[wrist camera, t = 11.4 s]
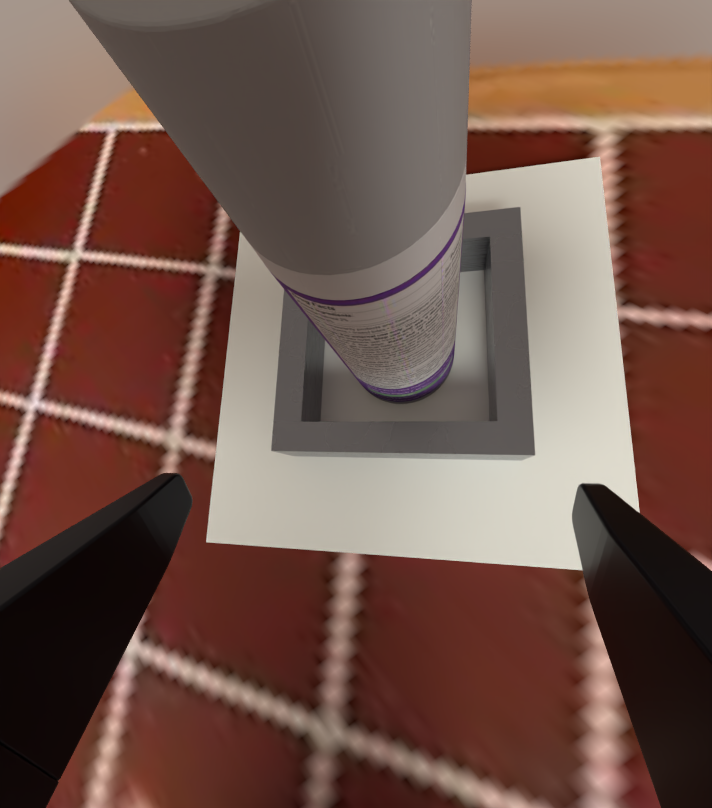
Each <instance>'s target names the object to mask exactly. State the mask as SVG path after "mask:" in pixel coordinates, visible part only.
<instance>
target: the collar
mask: <svg viewBox="0 0 712 808" xmlns="http://www.w3.org/2000/svg"><path fill="white" fill-rule="evenodd" d="M479 270H484V282H485V310H486V338H487V365H488V393H489V420H490V421H381V422H320V421H321V403H322V385H323V367H324V349H325V339H324V338H323V337H322V336H321V334H320V333H319V332H318V331H317V329H316V328H315V327H314V326H313V324H312V323H311V322H310V321H309V319H308V318H307V317H306V316H305V314H304V313H303V312H302V311H301V309H300V308H299V307H298V306H297V305H296V303H295V302H294V301H293V300H292V298H291V297H290V296H289V295H288V293H287V292H286V291H285V290H284V296H283V308H282V321H281V333H280V345H279V358H278V370H277V383H276V395H275V408H274V420H273V432H272V445H271V451H273V452H277V453H282V454H286V455H291V456H309V457H361V458H414V459H466V460H519V461H522V460H525V459H527V458H530V457H532V456H535V442H534V426H533V409H532V392H531V376H530V359H529V342H528V325H527V309H526V292H525V275H524V258H523V242H522V225H521V208H520V207H514V208H505V209H497V210H488V211H479V212H470V213H464V226H463V240H462V254H461V268H460V272H467V271H479Z"/></svg>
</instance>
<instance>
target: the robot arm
mask: <svg viewBox="0 0 712 808" xmlns="http://www.w3.org/2000/svg"><path fill="white" fill-rule="evenodd" d="M191 507H192V496H191V494H190V492H189V490H188V488H187V485H186V483H185V481H184V479H183V477H182V476H181V475H180V474H177V473H163V474H161V475H159V476H157V477H155V478H154V479H152V480H150V481H149V482H147V483H145V484H143V485H142V486H140V487H138V488H137V489H135V490H133V491H131V492H130V493H128V494H126V495H125V496H123V497H121V498H119V499H118V500H116V501H114V502H113V503H111V504H109V505H108V506H106V507H104V508H102V509H101V510H99V511H97V512H96V513H94V514H92V515H90V516H89V517H87V518H85V519H84V520H82V521H80V522H78V523H77V524H75V525H73V526H72V527H70V528H68V529H66V530H65V531H63V532H61V533H60V534H58V535H56V536H55V537H53V538H51V539H49V540H48V541H46V542H44V543H43V544H41V545H39V546H37V547H36V548H34V549H32V550H31V551H29V552H27V553H25V554H24V555H22V556H20V557H19V558H17V559H15V560H13V561H12V562H10V563H8V564H7V565H5V566H3V567H2V568H0V808H46V807H47V805H48V803H49V801H50V799H51V797H52V795H53V793H54V791H55V789H56V787H57V785H58V780H59V779H60V778H61V776H62V774H63V772H64V770H65V768H66V766H67V764H68V762H69V760H70V758H71V756H72V755H73V753H74V751H75V749H76V747H77V745H78V743H79V741H80V739H81V737H82V735H83V733H84V731H85V729H86V727H87V725H88V723H89V721H90V719H91V717H92V715H93V713H94V711H95V709H96V707H97V705H98V703H99V701H100V699H101V697H102V695H103V693H104V691H105V689H106V687H107V685H108V683H109V681H110V679H111V678H112V676H113V674H114V672H115V670H116V668H117V666H118V664H119V662H120V660H121V658H122V656H123V654H124V652H125V650H126V648H127V646H128V644H129V642H130V640H131V638H132V636H133V634H134V632H135V630H136V628H137V626H138V624H139V622H140V620H141V618H142V616H143V614H144V612H145V610H146V608H147V606H148V604H149V602H150V600H151V599H152V597H153V595H154V593H155V591H156V589H157V587H158V585H159V583H160V581H161V579H162V577H163V575H164V573H165V571H166V569H167V567H168V564H169V562H170V560H171V558H172V555H173V553H174V550H175V548H176V545H177V543H178V540H179V537H180V535H181V532H182V530H183V527H184V525H185V522H186V520H187V517H188V515H189V512H190V510H191ZM572 523H573V528H574V533H575V537H576V542H577V546H578V551H579V556H580V560H581V565H582V569H583V574H584V578H585V583H586V587H587V591H588V595H589V599H590V602H591V605H592V609H593V612H594V615H595V617H596V620H597V623H598V626H599V629H600V632H601V635H602V638H603V641H604V644H605V646H606V649H607V652H608V655H609V658H610V661H611V664H612V667H613V670H614V672H615V675H616V678H617V681H618V684H619V687H620V690H621V693H622V696H623V698H624V701H625V704H626V707H627V710H628V713H629V716H630V719H631V722H632V725H633V727H634V730H635V733H636V736H637V739H638V742H639V745H640V748H641V751H642V753H643V756H644V759H645V762H646V765H647V768H648V771H649V774H650V777H651V780H652V782H653V785H654V788H655V791H656V794H657V797H658V800H659V803H660V806H661V808H712V571H711V570H710V569H709V568H707V567H706V566H705V565H704V564H702V563H701V562H700V561H699V560H697V559H696V558H695V557H694V556H692V555H691V554H690V553H689V552H687V551H686V550H685V549H684V548H682V547H681V546H680V545H679V544H677V543H676V542H675V541H674V540H673V539H671V538H670V537H669V536H668V535H666V534H665V533H664V532H663V531H661V530H660V529H659V528H658V527H656V526H655V525H654V524H653V523H651V522H650V521H649V520H648V519H646V518H645V517H644V516H643V515H641V514H640V513H639V512H638V511H636V510H635V509H634V508H633V507H631V506H630V505H629V504H628V503H626V502H625V501H624V500H623V499H622V498H620V497H619V496H618V495H617V494H615V493H614V492H613V491H612V490H610V489H609V488H608V487H607V486H605V485H603V484H599V483H582V484H580V485H579V486H578V488H577V492H576V496H575V501H574V505H573V510H572Z"/></svg>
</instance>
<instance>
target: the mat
mask: <svg viewBox="0 0 712 808" xmlns="http://www.w3.org/2000/svg"><path fill="white" fill-rule="evenodd" d="M514 207H520V208H521V225H522V242H523V258H524V275H525V292H526V309H527V325H528V342H529V359H530V376H531V392H532V409H533V426H534V442H535V456H532V457H530V458H527V459H525V460H522V461H519V460H466V459H414V458H361V457H309V456H291V455H286V454H282V453H277V452H273V451H271V445H272V432H273V420H274V408H275V395H276V383H277V370H278V358H279V345H280V333H281V321H282V308H283V296H284V288H283V287H282V286H281V285H280V283H279V282H278V281H277V280H276V278H275V277H274V276H273V275H272V273H271V272H270V271H269V270H268V268H267V267H266V266H265V264H264V263H263V261H262V260H261V259H260V257H259V256H258V255H257V253H256V252H255V250H254V249H253V248H252V246H251V245H250V244H249V242H248V241H247V240H246V238H245V237H244V236H243V234H242V233H241V232H240V237H239V247H238V256H237V265H236V274H235V283H234V292H233V301H232V310H231V319H230V329H229V338H228V347H227V356H226V365H225V374H224V383H223V392H222V402H221V411H220V420H219V429H218V438H217V447H216V456H215V465H214V475H213V484H212V493H211V502H210V511H209V520H208V529H207V538H206V542H211V543H224V544H238V545H251V546H265V547H278V548H292V549H305V550H319V551H332V552H345V553H359V554H372V555H386V556H399V557H413V558H426V559H440V560H453V561H466V562H480V563H493V564H507V565H520V566H534V567H547V568H561V569H574V570H583V569H582V565H581V560H580V556H579V551H578V546H577V542H576V537H575V533H574V528H573V523H572V510H573V505H574V501H575V496H576V492H577V488H578V486H579V485H580V484H582V483H599V484H603V485H605V486H607V487H608V488H609V489H610V490H612V491H613V492H614V493H615V494H617V495H618V496H619V497H620V498H622V499H623V500H624V501H625V502H626V503H628V504H629V505H630V506H631V507H633V508H634V509H635V510H636V511H638V512H639V513H640V511H639V502H638V493H637V485H636V476H635V467H634V458H633V449H632V440H631V431H630V422H629V413H628V404H627V395H626V386H625V377H624V368H623V359H622V350H621V341H620V332H619V323H618V314H617V305H616V297H615V288H614V279H613V270H612V261H611V252H610V243H609V234H608V225H607V216H606V207H605V198H604V189H603V180H602V171H601V162H600V157H594V158H587V159H580V160H572V161H565V162H557V163H550V164H543V165H535V166H528V167H520V168H513V169H506V170H498V171H491V172H484V173H476V174H469V175H466V199H465V212H464V213H470V212H479V211H488V210H497V209H505V208H514ZM381 421H490V420H489V393H488V365H487V338H486V310H485V282H484V270H479V271H467V272H460V282H459V296H458V310H457V324H456V338H455V351H454V359H453V365H452V368H451V371H450V373H449V375H448V377H447V379H446V380H445V382H444V383H443V384H442V385H441V387H440V388H439V389H438V390H436V391H435V392H434V393H433V394H431V395H430V396H428V397H426V398H424V399H422V400H420V401H417V402H413V403H408V404H394V403H389V402H385V401H382V400H380V399H378V398H376V397H374V396H373V395H371V394H370V393H369V392H368V391H367V390H366V389H365V388H364V387H363V386H362V385H361V384H360V383H359V381H358V380H357V379H356V378H355V376H354V375H353V374H352V373H351V371H350V370H349V369H348V368H347V367H346V365H345V364H344V363H343V362H342V360H341V359H340V358H339V357H338V355H337V354H336V353H335V352H334V350H333V349H332V348H331V347H330V345H329V344H328V343H327V342H326V340H325V349H324V367H323V385H322V403H321V421H320V422H381Z"/></svg>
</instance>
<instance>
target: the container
mask: <svg viewBox="0 0 712 808" xmlns="http://www.w3.org/2000/svg"><path fill="white" fill-rule="evenodd" d="M69 1H70V2H71V4H72V5H73V7H74V8H75V9H76V11H77V12H78V13H79V15H80V16H81V17H82V19H83V20H84V21H85V23H86V24H87V25H88V27H89V28H90V29H91V31H92V32H93V34H94V35H95V36H96V38H97V39H98V40H99V42H100V43H101V44H102V46H103V47H104V48H105V50H106V51H107V52H108V54H109V55H110V56H111V58H112V59H113V60H114V62H115V63H116V65H117V66H118V67H119V69H120V70H121V71H122V72H123V74H124V75H125V76H126V78H127V79H128V81H129V82H130V83H131V85H132V86H133V87H134V89H135V90H136V91H137V93H138V94H139V96H140V97H141V98H142V100H143V101H144V102H145V104H146V105H147V106H148V108H149V109H150V110H151V112H152V113H153V114H154V116H155V117H156V118H157V120H158V121H159V122H160V124H161V125H162V126H163V128H164V129H165V131H166V132H167V133H168V135H169V136H170V137H171V139H172V140H173V141H174V143H175V144H176V145H177V147H178V148H179V149H180V151H181V152H182V153H183V155H184V156H185V157H186V159H187V160H188V162H189V163H190V164H191V166H192V167H193V168H194V170H195V171H196V172H197V174H198V175H199V176H200V178H201V179H202V180H203V182H204V183H205V184H206V186H207V187H208V188H209V190H210V191H211V192H212V194H213V195H214V197H215V198H216V199H217V201H218V202H219V203H220V205H221V206H222V207H223V209H224V210H225V211H226V213H227V214H228V215H229V217H230V218H231V219H232V221H233V222H234V223H235V225H236V226H237V228H238V229H239V230H240V232H241V233H242V234H243V236H244V237H245V238H246V240H247V241H248V242H249V244H250V245H251V246H252V248H253V249H254V250H255V252H256V253H257V255H258V256H259V257H260V259H261V260H262V261H263V263H264V264H265V266H266V267H267V268H268V270H269V271H270V272H271V273H272V275H273V276H274V277H275V278H276V280H277V281H278V282H279V283H280V285H281V286H282V287H283V288H284V290H285V291H286V292H287V293H288V295H289V296H290V297H291V298H292V300H293V301H294V302H295V303H296V305H297V306H298V307H299V308H300V309H301V311H302V312H303V313H304V314H305V316H306V317H307V318H308V319H309V321H310V322H311V323H312V324H313V326H314V327H315V328H316V329H317V331H318V332H319V333H320V334H321V336H322V337H323V338H324V339H325V340H326V342H327V343H328V344H329V345H330V347H331V348H332V349H333V350H334V352H335V353H336V354H337V355H338V357H339V358H340V359H341V360H342V362H343V363H344V364H345V365H346V367H347V368H348V369H349V370H350V371H351V373H352V374H353V375H354V376H355V378H356V379H357V380H358V381H359V383H360V384H361V385H362V386H363V387H364V388H365V389H366V390H367V391H368V392H369V393H370V394H371V395H373V396H374V397H376V398H378V399H380V400H382V401H385V402H389V403H394V404H408V403H413V402H417V401H420V400H422V399H424V398H426V397H428V396H430V395H431V394H433V393H434V392H435V391H436V390H438V389H439V388H440V387H441V385H442V384H443V383H444V382H445V380H446V379H447V377H448V375H449V373H450V371H451V368H452V365H453V359H454V351H455V338H456V324H457V310H458V296H459V282H460V268H461V254H462V240H463V226H464V212H465V199H466V155H467V127H468V96H469V65H470V34H471V3H472V0H69Z"/></svg>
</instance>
